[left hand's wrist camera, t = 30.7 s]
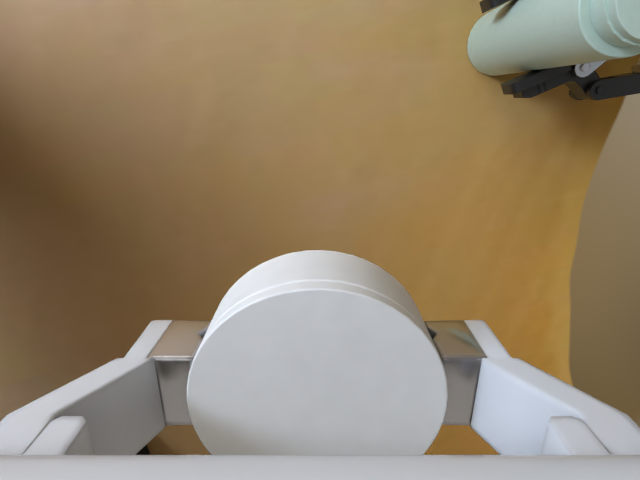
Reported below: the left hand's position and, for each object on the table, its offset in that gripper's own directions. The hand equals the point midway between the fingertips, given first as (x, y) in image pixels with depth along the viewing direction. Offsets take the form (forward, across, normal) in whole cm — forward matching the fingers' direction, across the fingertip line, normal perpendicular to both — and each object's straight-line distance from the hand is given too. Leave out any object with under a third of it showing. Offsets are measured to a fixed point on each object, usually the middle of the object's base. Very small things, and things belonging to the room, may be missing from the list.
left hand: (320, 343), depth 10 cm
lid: (-2, 0, 0) cm, 2 cm away
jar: (+27, +14, +10) cm, 32 cm away
